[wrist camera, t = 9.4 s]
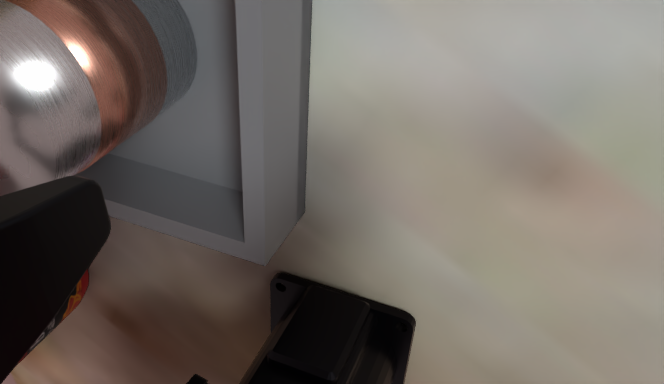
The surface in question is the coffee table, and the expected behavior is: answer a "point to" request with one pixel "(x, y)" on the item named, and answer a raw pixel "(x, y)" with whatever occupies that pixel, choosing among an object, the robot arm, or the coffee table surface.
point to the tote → (225, 135)
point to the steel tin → (84, 80)
